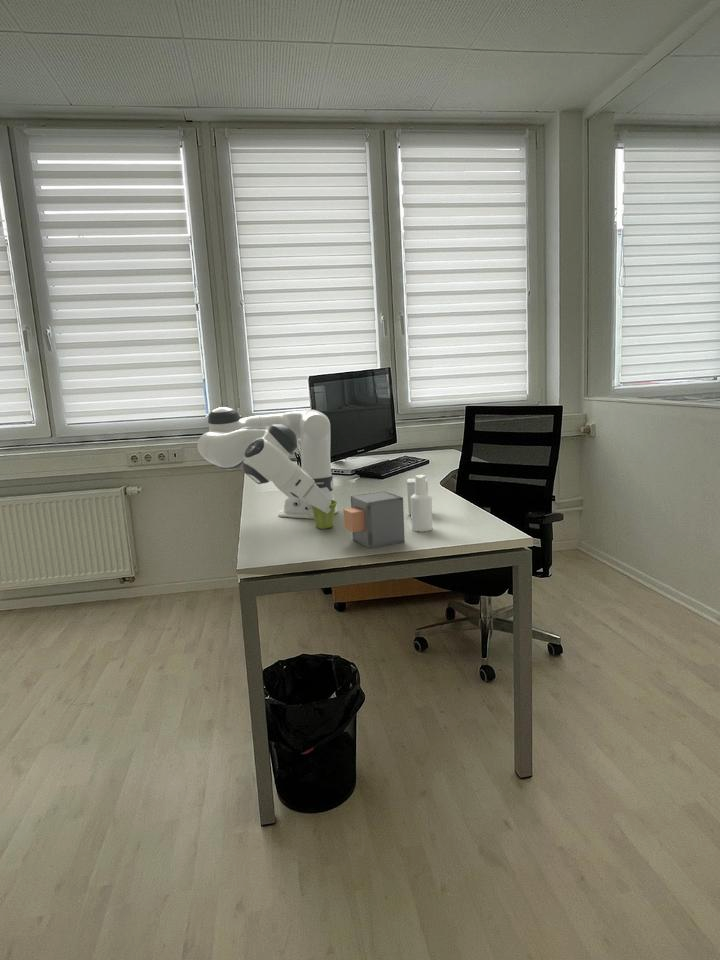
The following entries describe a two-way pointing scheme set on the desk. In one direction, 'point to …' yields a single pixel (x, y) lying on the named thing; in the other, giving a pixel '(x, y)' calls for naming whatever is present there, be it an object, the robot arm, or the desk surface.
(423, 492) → the spray bottle
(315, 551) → the desk surface
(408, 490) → the supplement box
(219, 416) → the robot arm
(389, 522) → the button box
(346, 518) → the button
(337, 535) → the desk surface
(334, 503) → the plant pot
